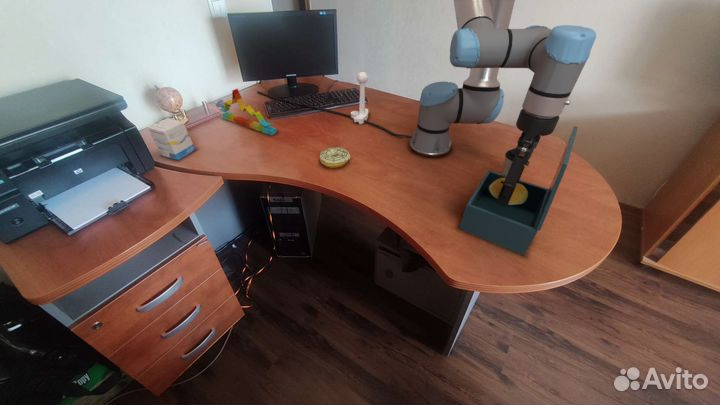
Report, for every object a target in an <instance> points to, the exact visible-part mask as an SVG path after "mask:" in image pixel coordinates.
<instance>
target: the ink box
mask: <svg viewBox="0 0 720 405" xmlns="http://www.w3.org/2000/svg"><path fill="white" fill-rule="evenodd" d="M147 129H148V131H149V133H150V135H151V137H152V139H153V141H154V143H155V144H156V146H157V149H158V150H159V152H160V154H161V156H163V157H166V158H169V159H172V160H175V161H180V160H182V158H183V159H184V158H185V157H186V156H188V155H189V154H191V153H193V152H194V151H196V148H195V145H194V143H193V141H192V139H191V136H190V134H189V131H188V129H187V127H186V125H185V122H184V121H181V120H178V119H174V118H171V117H167V118H164V119H162V120H160V121H157V122H154V123H153V124H151V125H150V126H147Z"/></svg>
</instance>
